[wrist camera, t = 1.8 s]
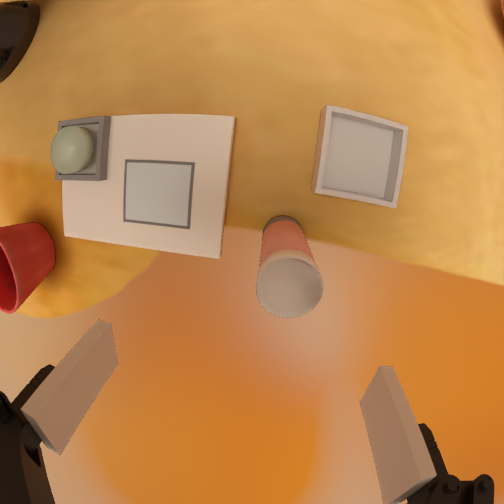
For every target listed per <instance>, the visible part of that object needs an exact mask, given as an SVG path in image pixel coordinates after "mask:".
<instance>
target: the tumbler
mask: <svg viewBox="0 0 504 504" xmlns="http://www.w3.org/2000/svg"><path fill="white" fill-rule="evenodd" d="M322 293H323V281H322V277H321V275H320V272H319V270H318V267H317V265H316V263H315V261H314V258H313V256H312V253H311V251H310V248H309V246H308V243H307V240H306V238H305V235H304V232H303V230H302V227H301V225H300V224H299V223H298V221H297V220H295V219H294V218H292V217H290V216H284V215H282V216H277V217H274V218H272V219H271V220H270V221H268V223H267V224H266V225H265V227H264V230H263V238H262V248H261V257H260V265H259V271H258V276H257V284H256V294H257V297H258V300H259V302H260V304H261V305H262V307H263V308H264V309H265V310H267V311H268V312H269V313H271V314H273V315H275V316H278V317H282V318H295V317H299V316H302V315H305V314H306V313H308V312H310V311H311V310H312V309H313V308H314V307H315V306H316V305H317V304H318V302H319V301H320V299H321V297H322Z"/></svg>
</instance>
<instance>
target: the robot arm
mask: <svg viewBox="0 0 504 504" xmlns="http://www.w3.org/2000/svg"><path fill="white" fill-rule="evenodd" d="M38 20H39V7H38V6H37V5H36V4H34V3H32V2H29V1H11V2H1V3H0V82H1V81H3V80H4V79H5V78H6V77H7V76H8V75H9V74H10V73H11V72H12V71H13V69H14V68H15V67H16V65H17V64H18V63H19V61H20V60H21V58H22V56H23V55H24V53H25V51H26V50H27V48H28V46H29V44H30V42H31V40H32V38H33V35H34V33H35V30H36V27H37V24H38ZM117 365H118V360H117V355H116V349H115V344H114V338H113V331H112V325H111V323H109V322H106V321H102V320H98V321H97V322H96V323H95V324H94V325H93V326H92V327H91V328H90V329H89V330H88V331H87V332H86V334H85V335H84V336H83V337H82V338H81V339H80V340H79V341H78V342H77V343H76V344H75V346H74V347H73V348H72V349H71V350H70V351H69V352H68V353H67V354H66V356H65V357H64V358H63V359H62V360H61V361H60V363H59V364H58V365H57V366H56V367H54V366H52V365H50V364H49V365H47V366H46V367H44V368H42V369H40V371H39V372H38V373H37V374H36V375H35V376H34V378H32V380H31V381H30V383H29V384H27V385H26V387H25V388H24V389H23V390H22V391H21V392H20V394H19V395H18V396H17V397H16V398H15V400H14V401H13V402H12V403H10V401H9V400H8V398H7V396H6V395H5V394H4V393H3V392H1V391H0V504H55V501H54V498H53V495H52V492H51V488H50V485H49V481H48V478H47V473H46V469H45V465H44V461H43V456H42V451H41V448H40V445H39V444H40V443H41V441H42V442H43V443H44V444H45V446H46V447H47V448H49V449H51V450H52V451H54V452H55V453H57V454H59V455H61V454H62V452H63V450H64V449H65V447H66V445H67V443H68V442H69V440H70V439H71V437H72V435H73V434H74V432H75V430H76V429H77V427H78V426H79V424H80V422H81V421H82V419H83V417H84V416H85V414H86V412H87V411H88V409H89V408H90V406H91V405H92V403H93V402H94V400H95V398H96V397H97V395H98V394H99V392H100V391H101V389H102V387H103V386H104V384H105V383H106V382H107V380H108V379H109V377H110V375H111V374H112V373H113V371H114V369H115V368H116V367H117ZM360 406H361V410H362V413H363V417H364V421H365V425H366V429H367V432H368V436H369V440H370V445H371V449H372V453H373V457H374V462H375V465H376V470H377V475H378V479H379V484H380V489H381V494H382V499H383V504H399V503H401V502H402V501H404V500H405V499H407V501H408V503H407V504H493V503H494V482H493V479H492V478H491V477H490V476H489V475H486V474H483V475H480V476H479V477H477V478H476V479H475V480H473V481H460V480H459V479H458V478H457V477H455V476H454V475H449V474H448V472H447V470H446V467H445V464H444V462H443V459H442V456H441V454H440V451H439V449H438V448H437V444H436V442H435V441H434V437H433V434H432V432H431V430H430V429H429V428H428V427H427V426H426V424H424V423H422V424H418V423H417V421H416V418H415V416H414V414H413V411H412V409H411V407H410V404H409V402H408V399H407V397H406V395H405V393H404V390H403V388H402V386H401V384H400V382H399V379H398V377H397V375H396V373H395V371H394V368H393V366H379V368H378V370H377V372H376V374H375V375H374V377H373V379H372V381H371V383H370V385H369V387H368V388H367V390H366V392H365V394H364V396H363V397H362V399H361V401H360Z"/></svg>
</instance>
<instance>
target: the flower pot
mask: <svg viewBox="0 0 504 504" xmlns="http://www.w3.org/2000/svg"><path fill="white" fill-rule="evenodd" d="M54 264H55V248H54V244H53V241H52V239H51V237H50V235H49V233H48V232H47V230H46V229H45V228H44V227H43V226H42V225H40V224H38V223H34V222H33V223H23V224H16V225H11V226H5V227H0V310H2V311H3V312H6V313H13V312H15V311H16V310H17V309H18V308H19V307H20V306H21V305H22V303H23V302H24V301H25V300H26V299H27V298H28V297H29V295H30V294H31V293H32V292H33V291H34V290H35V289H36V287H37V286H38V285H39V284H40V283H41V282H42V281H43V279H44V278H45V277H46V276H47V275H48V274H49V273H50V272H51V270H52V269H53V267H54Z"/></svg>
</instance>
